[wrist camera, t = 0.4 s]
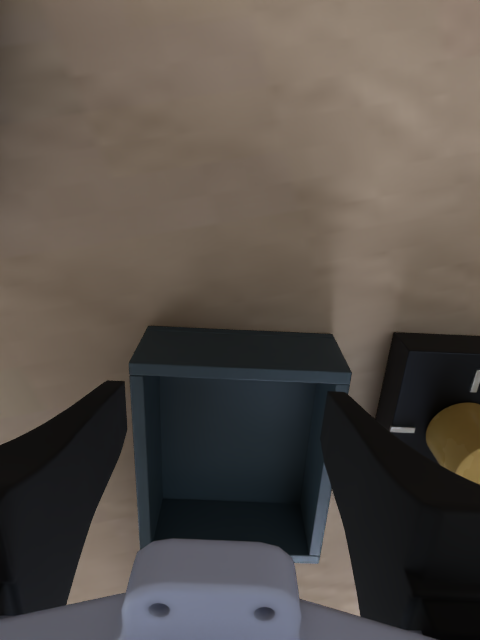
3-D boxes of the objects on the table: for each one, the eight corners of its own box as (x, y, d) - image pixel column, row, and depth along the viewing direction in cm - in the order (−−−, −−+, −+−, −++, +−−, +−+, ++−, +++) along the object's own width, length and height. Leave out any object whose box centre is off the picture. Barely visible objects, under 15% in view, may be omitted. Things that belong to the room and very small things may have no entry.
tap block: (482, 470, 28) (505, 500, 26) (363, 465, 28) (375, 495, 26) (528, 337, 24) (560, 358, 22) (391, 331, 24) (408, 352, 22)
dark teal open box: (307, 504, 29) (318, 564, 25) (154, 498, 29) (140, 557, 25) (332, 333, 24) (352, 372, 20) (148, 325, 24) (128, 362, 20)
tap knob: (484, 460, 25) (525, 511, 21) (418, 457, 25) (448, 508, 21) (504, 403, 23) (551, 448, 20) (434, 400, 23) (468, 445, 20)
